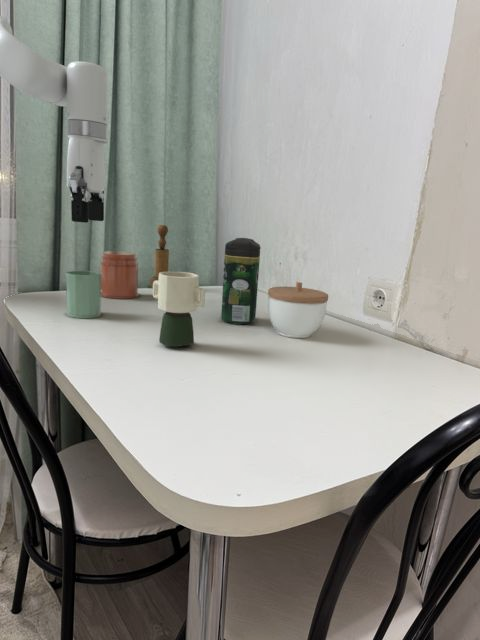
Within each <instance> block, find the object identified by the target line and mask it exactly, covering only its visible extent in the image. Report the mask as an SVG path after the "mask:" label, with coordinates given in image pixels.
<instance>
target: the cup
mask: <svg viewBox="0 0 480 640" xmlns="http://www.w3.org/2000/svg"><path fill="white" fill-rule="evenodd" d="M65 286H66V287H65V288H66V289H65V290H66V291H65V292H66V293H65V294H66V315H67V316H68V317H70V318H74V319H94V318H99V317H100V316H101V313H102V296H101V272H98V271H91V270H68V271H66V272H65Z"/></svg>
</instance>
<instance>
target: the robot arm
mask: <svg viewBox="0 0 480 640" xmlns="http://www.w3.org/2000/svg"><path fill="white" fill-rule="evenodd" d="M0 77H1V78H2V79H3V80H4V81H6V82H7V83H8V84H10V85H11V86H12V87H13V88H15V89H17V90H18V91H19V92H21V93H22V94H24V95H26V96H29V97H32V98H34V99H38V100H40V101H44V102H46V103H48V104H51V105H54V106H57V107H66V110H67V111H66V113H67V114H66V115H67V139H68V145H67V155H66V157H67V158H66V187H67V189H68V190H69V191H70V193H71V194H70V206H71V207H70V209H71V210H70V211H71V214H70V215H71V221H72V222H74V223H86V224H87V223H88V222H89V221H94V222H95V221H97V222H104V221H105V195H104V194H105V189H106V160H105V147H104V146H105V145H104V144H108V85H109V84H108V83H109V82H108V81H109V80H108V73H107V71H106V69H105V68H104V67H103V66H101V65H99V64H97V63H94V62H90V61H81V60H75V61H71V62H69V64H68V65H67V66H66V65H63V64H61V63H60V62H57V61H55V60H53V59H51V58H48V57H47V56H45V55H42V54H40V53H38V52H36V51H35V50H33V49H32V48H30V47H29V46H28V45H26V44H25V43H23V42H22V41H21V40H19V39H18V38H17V37H16V36H15V35H14V33H13V28H12V26H11V24H10V23H9V21H8V20H7V19H6V18H4V17H3V16H2V15H0ZM88 197H89V200H88Z"/></svg>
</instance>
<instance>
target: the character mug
mask: <svg viewBox="0 0 480 640" xmlns="http://www.w3.org/2000/svg"><path fill="white" fill-rule="evenodd" d="M152 298H154V299H156V300H157V307H158V309H159V310H160V311H163V312H164V313H163V315H162V319H161V325H160V330H159V337H158V338H159V339H158V340H159V341H158V342H159V343H160V344H161V345H163V346H167V347H182V348H184V347H185V346H188V345H189V346H190V345H193V344H195V340H194V339H195V336H194V335H195V334H194V324H193V322H194V321H193V317H192V315H191V313H192V312H195V311H197V309H198V307H199V308H202V307H204V306H205V303H206V289H205V288H203V287H200V276H199V274H196V273H194V272H189V271H168V272H161V273H159V281H157V280H156V281H154V282H153V288H152Z"/></svg>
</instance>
